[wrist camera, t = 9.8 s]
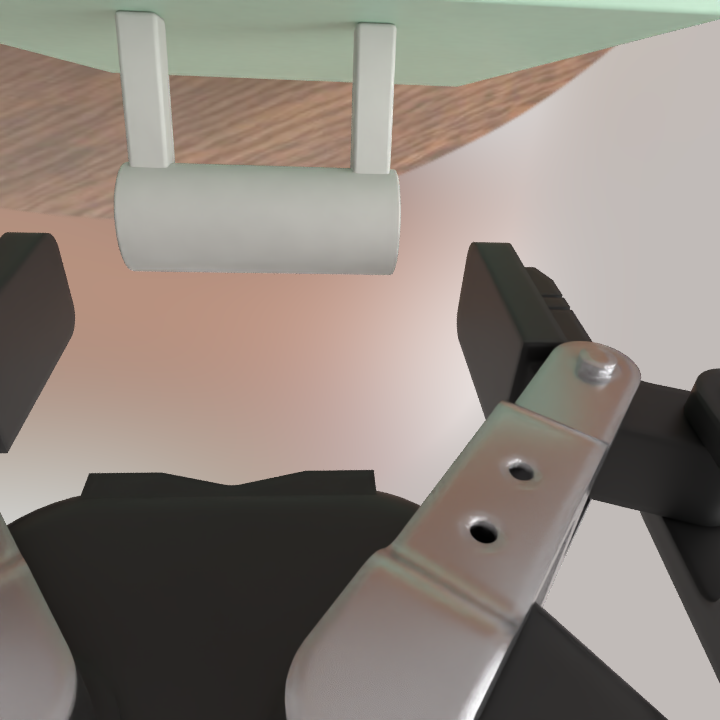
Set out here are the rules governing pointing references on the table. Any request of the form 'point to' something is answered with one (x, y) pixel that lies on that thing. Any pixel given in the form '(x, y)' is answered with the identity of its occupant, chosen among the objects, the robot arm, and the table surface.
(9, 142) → the table surface
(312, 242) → the lid
